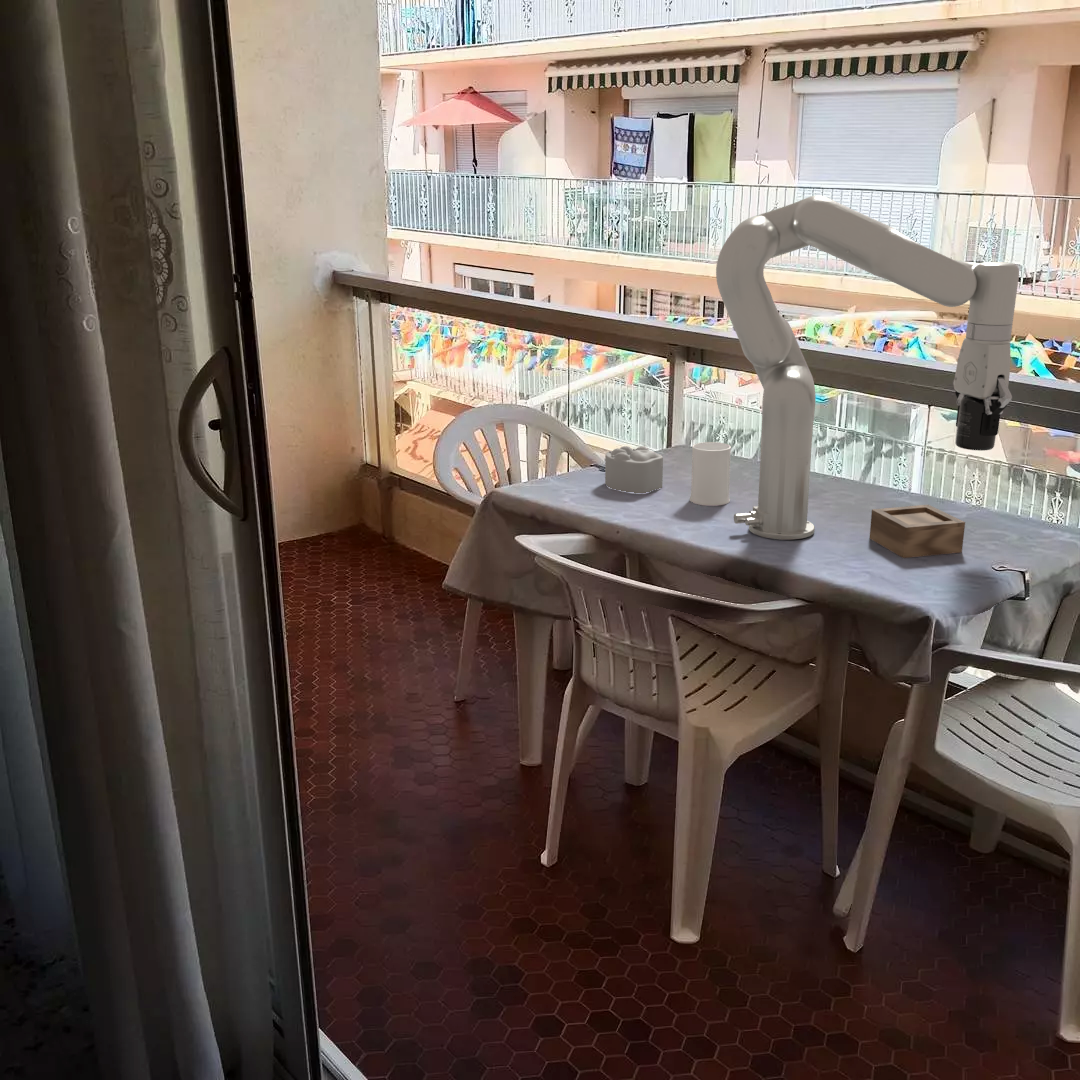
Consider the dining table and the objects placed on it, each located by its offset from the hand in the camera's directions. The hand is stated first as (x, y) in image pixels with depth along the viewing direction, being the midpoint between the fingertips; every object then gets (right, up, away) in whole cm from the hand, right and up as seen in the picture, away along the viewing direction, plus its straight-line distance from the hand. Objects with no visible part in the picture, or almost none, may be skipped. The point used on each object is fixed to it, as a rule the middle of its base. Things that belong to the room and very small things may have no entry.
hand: (976, 430), depth 204 cm
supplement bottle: (0, -3, +1) cm, 3 cm away
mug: (-43, -12, +36) cm, 57 cm away
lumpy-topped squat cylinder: (-60, -8, +47) cm, 76 cm away
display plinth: (-10, -21, +4) cm, 24 cm away
